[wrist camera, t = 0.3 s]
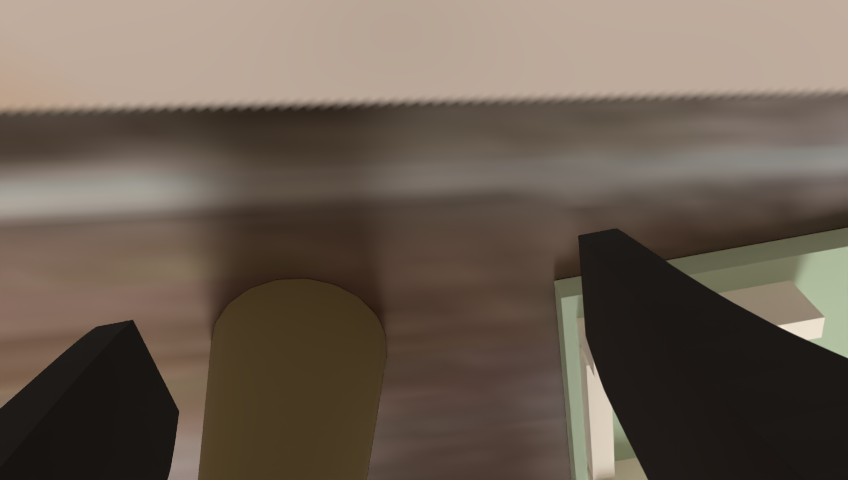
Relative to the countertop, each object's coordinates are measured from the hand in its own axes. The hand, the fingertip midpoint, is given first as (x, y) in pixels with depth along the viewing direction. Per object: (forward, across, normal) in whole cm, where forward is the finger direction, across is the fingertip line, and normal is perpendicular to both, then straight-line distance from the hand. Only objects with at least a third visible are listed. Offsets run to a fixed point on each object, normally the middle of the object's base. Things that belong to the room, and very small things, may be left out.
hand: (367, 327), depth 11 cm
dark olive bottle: (+10, +4, +8) cm, 14 cm away
